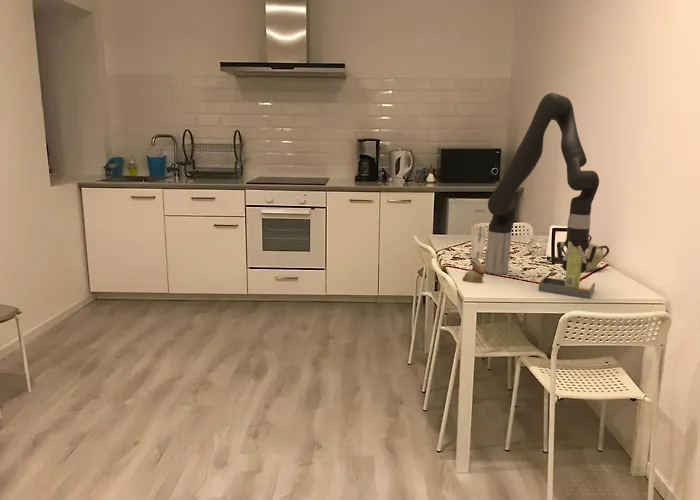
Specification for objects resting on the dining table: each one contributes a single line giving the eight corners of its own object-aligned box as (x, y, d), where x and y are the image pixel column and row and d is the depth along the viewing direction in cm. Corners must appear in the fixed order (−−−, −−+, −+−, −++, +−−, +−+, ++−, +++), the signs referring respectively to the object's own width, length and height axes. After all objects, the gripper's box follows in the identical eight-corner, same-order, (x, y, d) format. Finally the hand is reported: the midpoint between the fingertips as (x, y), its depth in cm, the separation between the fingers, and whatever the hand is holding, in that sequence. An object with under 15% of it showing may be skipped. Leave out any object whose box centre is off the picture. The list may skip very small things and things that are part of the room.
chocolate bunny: (478, 284, 230) (480, 259, 227) (461, 280, 235) (462, 255, 233) (486, 282, 234) (488, 257, 231) (468, 277, 239) (470, 253, 237)
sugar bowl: (601, 265, 265) (605, 232, 262) (612, 274, 251) (616, 238, 248) (555, 263, 268) (559, 230, 264) (563, 271, 253) (567, 236, 250)
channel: (538, 290, 223) (539, 282, 223) (544, 283, 234) (545, 276, 233) (589, 298, 215) (590, 290, 214) (594, 290, 225) (595, 283, 224)
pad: (571, 290, 224) (571, 289, 224) (573, 287, 229) (573, 286, 229) (589, 293, 221) (589, 292, 221) (591, 290, 226) (591, 289, 226)
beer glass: (469, 258, 272) (471, 226, 268) (468, 255, 278) (471, 223, 275) (484, 259, 270) (487, 226, 267) (484, 256, 277) (486, 224, 274)
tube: (572, 285, 225) (578, 234, 221) (583, 289, 221) (589, 237, 217) (561, 287, 223) (567, 235, 219) (571, 290, 218) (577, 238, 214)
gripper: (601, 226, 216) (596, 272, 220) (559, 222, 223) (555, 266, 227) (598, 229, 210) (593, 276, 214) (556, 225, 217) (551, 270, 220)
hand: (573, 271), depth 220 cm, fingers closed on tube, 5 cm apart
